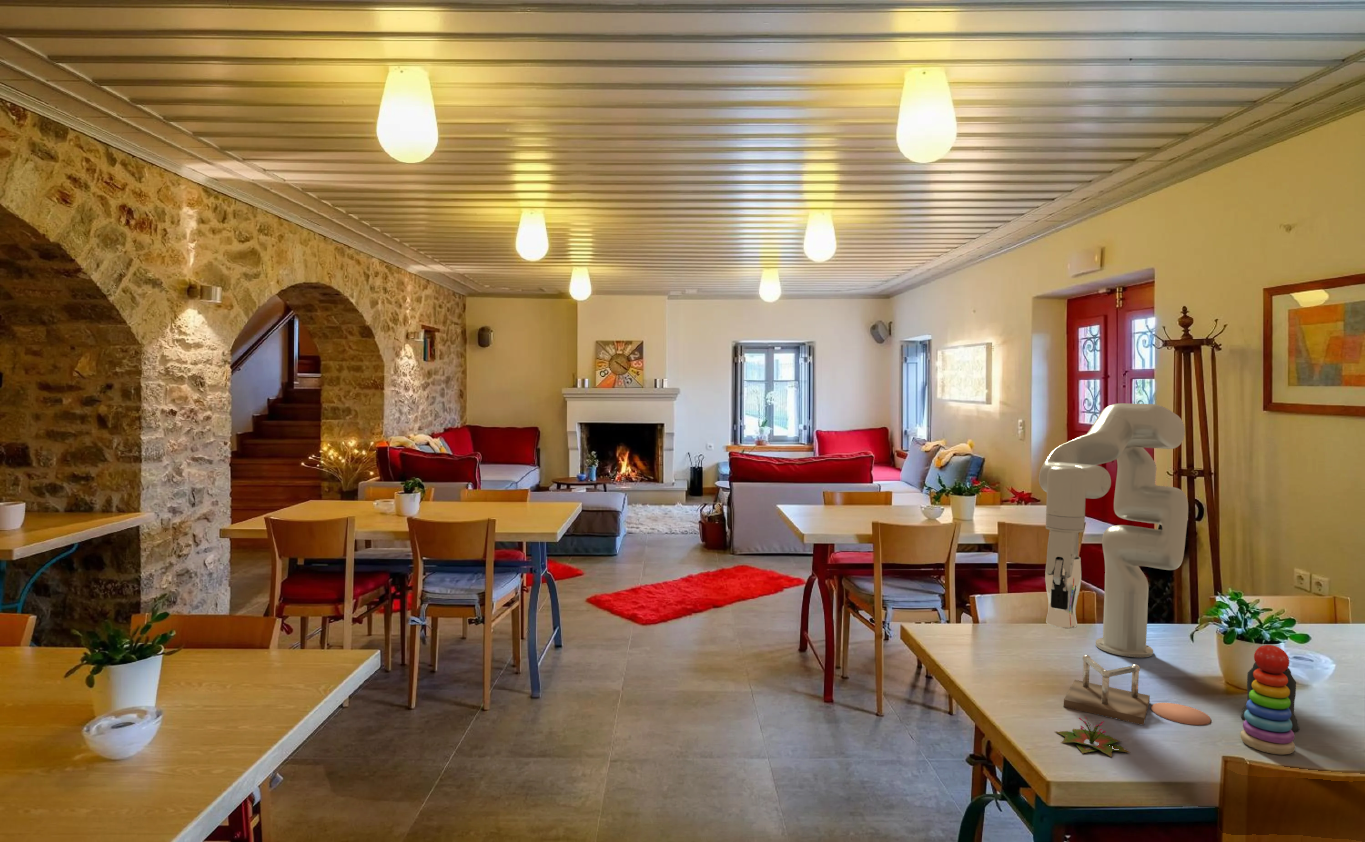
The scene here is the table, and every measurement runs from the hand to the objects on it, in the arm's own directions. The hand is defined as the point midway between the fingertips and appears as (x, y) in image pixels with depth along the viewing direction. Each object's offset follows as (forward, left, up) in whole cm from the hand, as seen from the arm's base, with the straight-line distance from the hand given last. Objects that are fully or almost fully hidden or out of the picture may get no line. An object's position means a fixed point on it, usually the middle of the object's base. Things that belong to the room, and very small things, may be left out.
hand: (1062, 604), depth 164 cm
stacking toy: (+7, +36, -19) cm, 41 cm away
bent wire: (+4, +10, -17) cm, 20 cm away
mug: (-8, +37, -19) cm, 42 cm away
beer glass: (0, 0, -5) cm, 5 cm away
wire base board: (+3, +10, -18) cm, 21 cm away
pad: (0, +22, -18) cm, 29 cm away
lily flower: (+26, +10, -19) cm, 34 cm away
